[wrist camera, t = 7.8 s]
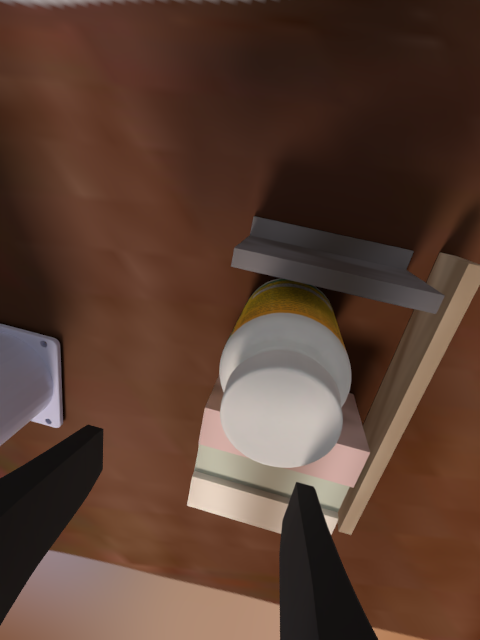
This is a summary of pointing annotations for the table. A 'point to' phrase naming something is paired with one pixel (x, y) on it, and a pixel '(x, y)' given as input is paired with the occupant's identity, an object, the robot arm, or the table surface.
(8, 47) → the table surface
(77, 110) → the table surface
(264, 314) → the supplement bottle
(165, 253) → the table surface
